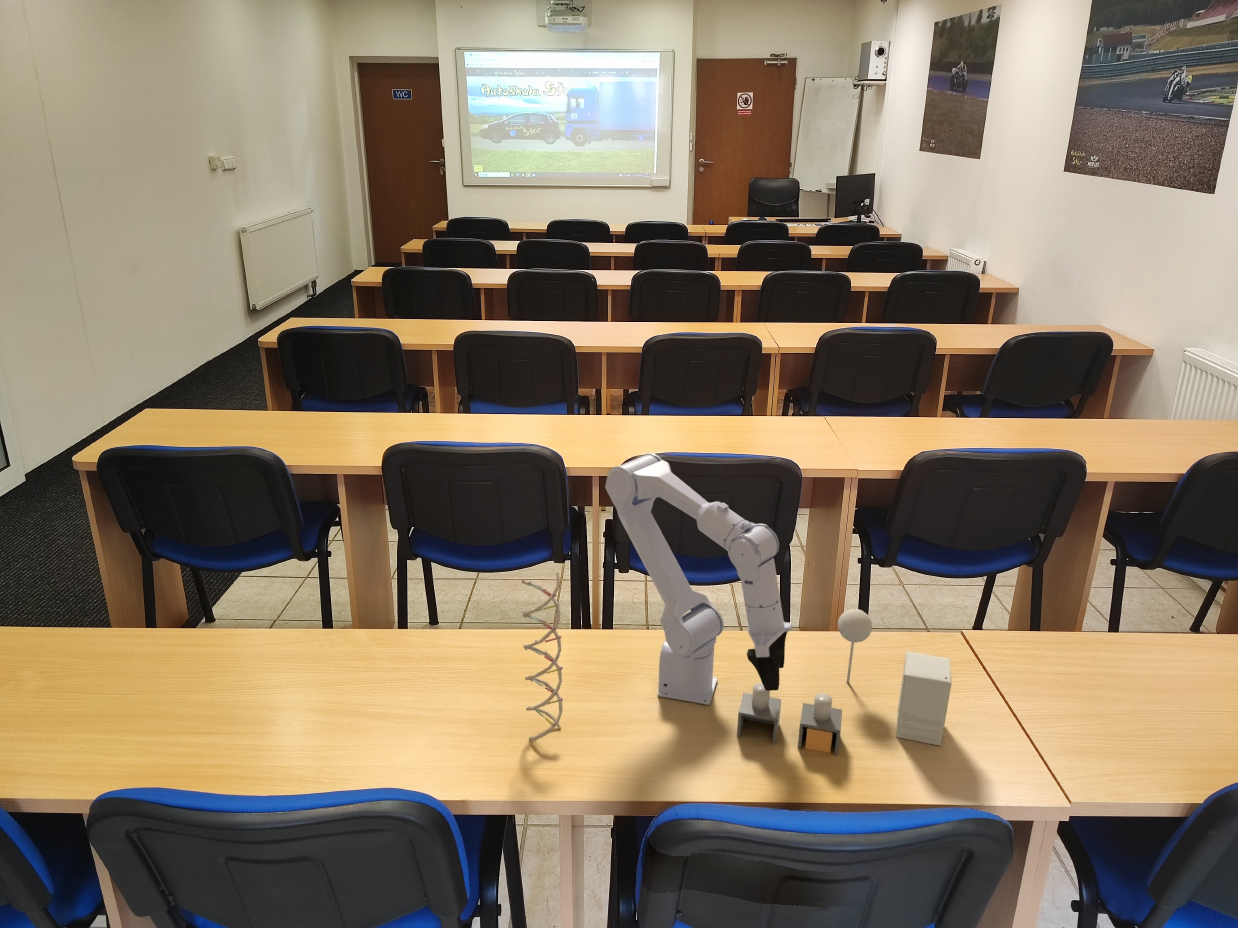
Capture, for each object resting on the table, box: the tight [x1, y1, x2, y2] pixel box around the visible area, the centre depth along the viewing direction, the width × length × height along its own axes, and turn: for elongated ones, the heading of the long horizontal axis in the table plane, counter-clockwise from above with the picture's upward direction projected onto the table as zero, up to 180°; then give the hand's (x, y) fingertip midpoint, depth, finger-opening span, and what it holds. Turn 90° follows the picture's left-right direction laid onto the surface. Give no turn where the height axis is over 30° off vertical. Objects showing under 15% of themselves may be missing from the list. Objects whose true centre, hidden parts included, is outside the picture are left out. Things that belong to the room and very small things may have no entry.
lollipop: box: [837, 608, 873, 684], centre depth 158 cm, size 6×6×15 cm
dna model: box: [521, 572, 564, 741], centre depth 142 cm, size 7×6×30 cm
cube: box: [804, 727, 833, 753], centre depth 145 cm, size 4×4×4 cm
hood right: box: [797, 692, 843, 756], centre depth 145 cm, size 6×6×8 cm
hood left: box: [736, 682, 782, 745], centre depth 147 cm, size 6×6×8 cm
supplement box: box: [896, 651, 952, 746], centre depth 147 cm, size 7×7×13 cm
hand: (774, 678), depth 145 cm, fingers open, 7 cm apart
